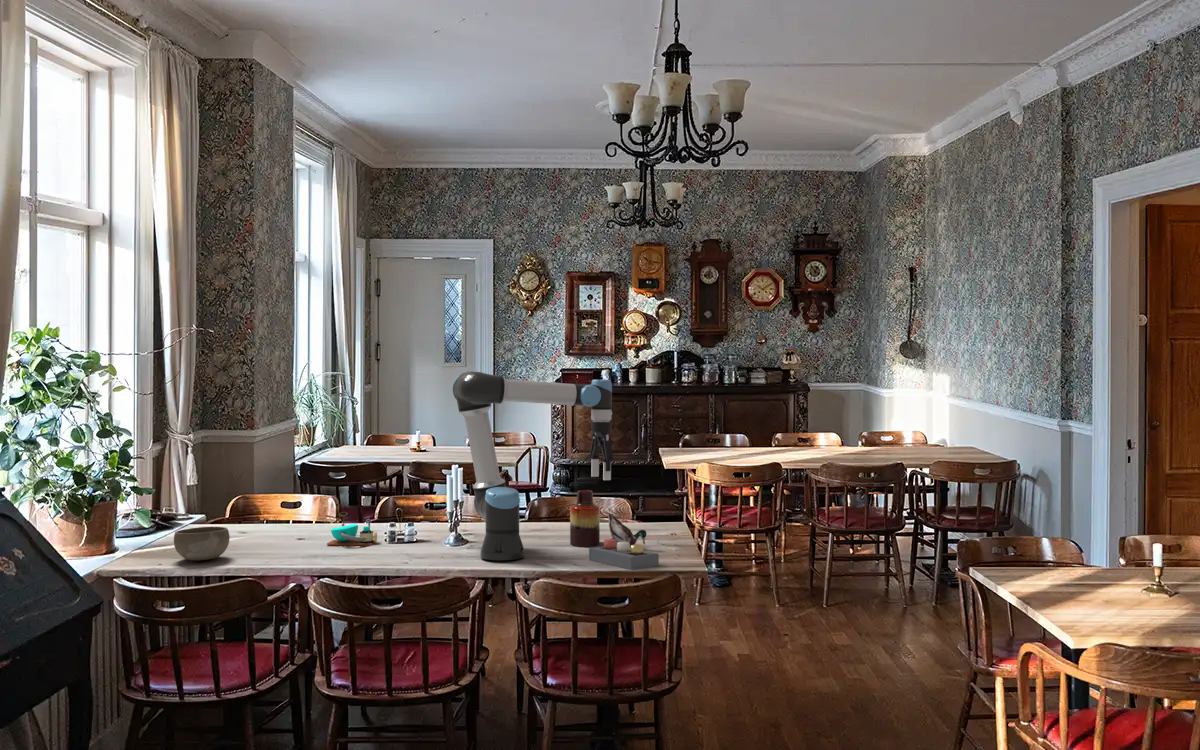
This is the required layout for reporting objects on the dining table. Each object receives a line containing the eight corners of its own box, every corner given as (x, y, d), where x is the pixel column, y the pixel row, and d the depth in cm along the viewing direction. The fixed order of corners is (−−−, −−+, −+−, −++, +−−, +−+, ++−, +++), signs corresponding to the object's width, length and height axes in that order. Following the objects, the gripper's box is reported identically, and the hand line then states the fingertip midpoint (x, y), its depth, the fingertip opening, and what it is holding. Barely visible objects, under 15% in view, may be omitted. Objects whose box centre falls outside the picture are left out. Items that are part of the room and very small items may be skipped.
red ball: (609, 551, 345) (609, 541, 345) (601, 550, 348) (601, 539, 348) (618, 550, 347) (618, 540, 347) (611, 548, 351) (611, 538, 351)
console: (630, 569, 330) (630, 557, 330) (589, 560, 347) (589, 548, 347) (658, 565, 337) (658, 553, 337) (616, 556, 355) (616, 544, 355)
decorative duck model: (654, 540, 366) (638, 501, 369) (644, 543, 359) (629, 503, 363) (621, 554, 373) (606, 516, 376) (611, 557, 366) (595, 518, 369)
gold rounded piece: (636, 557, 334) (636, 547, 334) (627, 555, 337) (627, 545, 337) (645, 556, 337) (645, 545, 337) (637, 554, 340) (637, 544, 340)
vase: (605, 546, 375) (605, 491, 375) (584, 549, 368) (584, 493, 368) (585, 543, 383) (585, 488, 383) (564, 546, 375) (564, 490, 375)
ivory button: (622, 554, 339) (622, 544, 339) (614, 553, 343) (614, 542, 343) (632, 553, 342) (632, 542, 342) (624, 551, 345) (624, 541, 345)
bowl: (170, 556, 353) (170, 527, 353) (224, 552, 362) (224, 524, 362) (177, 564, 338) (177, 534, 338) (233, 560, 347) (233, 530, 347)
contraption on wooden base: (369, 549, 369) (369, 507, 369) (320, 549, 370) (320, 507, 370) (380, 543, 383) (380, 502, 383) (333, 542, 384) (333, 502, 384)
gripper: (622, 422, 368) (622, 481, 368) (600, 419, 392) (599, 474, 392) (602, 422, 366) (602, 481, 366) (581, 419, 390) (581, 475, 390)
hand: (601, 478), depth 379 cm, fingers open, 13 cm apart
